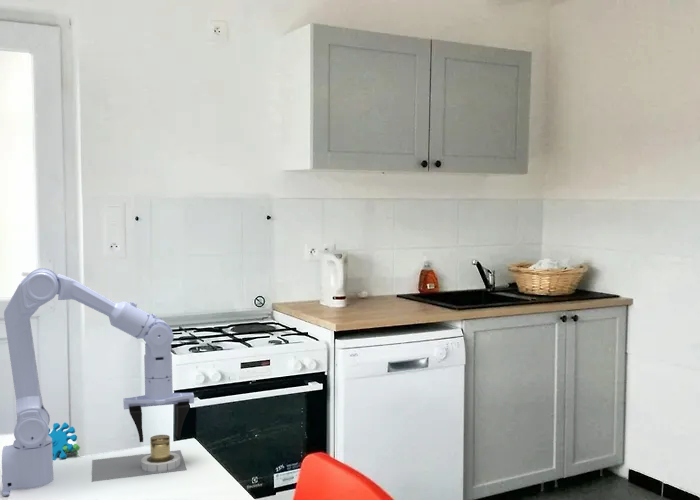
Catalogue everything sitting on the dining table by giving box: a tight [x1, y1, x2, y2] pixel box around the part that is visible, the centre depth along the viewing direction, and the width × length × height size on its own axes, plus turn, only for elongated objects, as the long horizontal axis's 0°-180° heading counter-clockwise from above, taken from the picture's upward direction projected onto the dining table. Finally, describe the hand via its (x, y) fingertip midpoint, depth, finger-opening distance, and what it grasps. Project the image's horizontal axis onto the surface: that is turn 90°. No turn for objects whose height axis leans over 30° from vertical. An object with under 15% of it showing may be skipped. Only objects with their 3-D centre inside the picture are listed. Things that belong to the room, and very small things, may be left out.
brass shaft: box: [149, 434, 171, 463], centre depth 159 cm, size 4×4×6 cm
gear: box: [48, 422, 81, 461], centre depth 168 cm, size 11×6×10 cm
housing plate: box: [91, 449, 188, 483], centre depth 159 cm, size 19×14×2 cm
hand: (159, 438), depth 158 cm, fingers open, 7 cm apart
